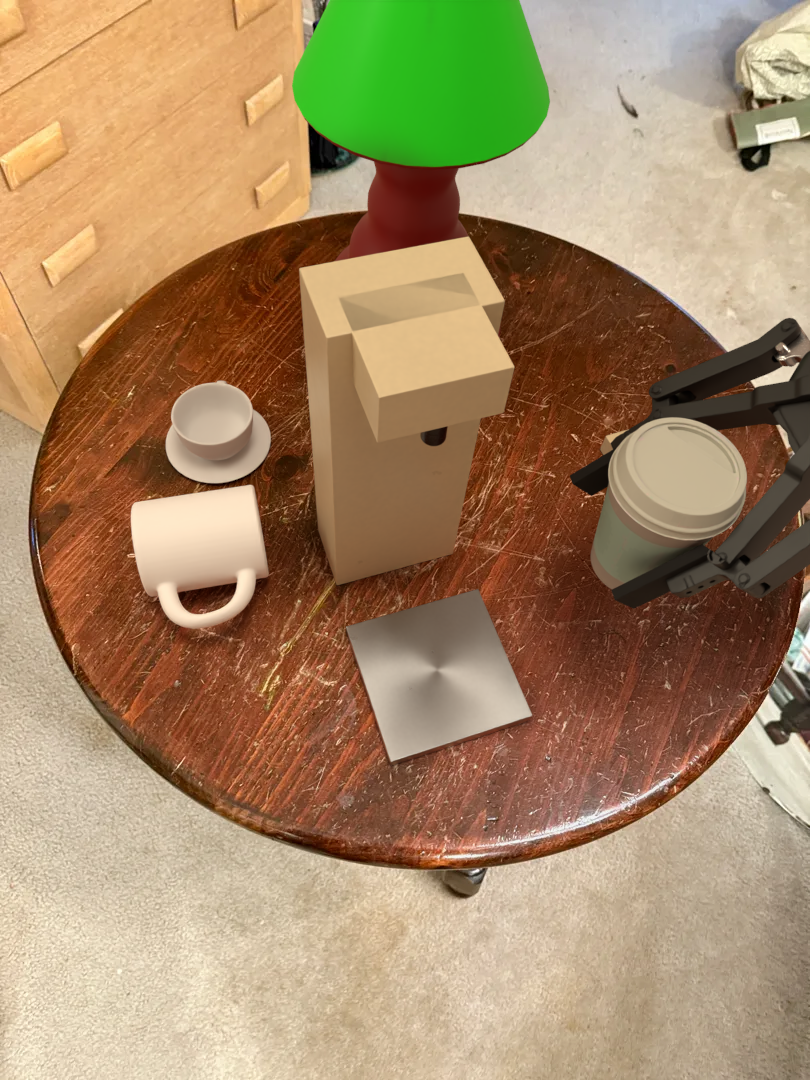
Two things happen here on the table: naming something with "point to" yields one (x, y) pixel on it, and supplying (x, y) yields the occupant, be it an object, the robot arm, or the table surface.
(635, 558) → the coffee cup
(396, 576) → the table surface
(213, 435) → the teacup
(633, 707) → the table surface
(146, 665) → the table surface
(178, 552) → the mug
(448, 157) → the table lamp
